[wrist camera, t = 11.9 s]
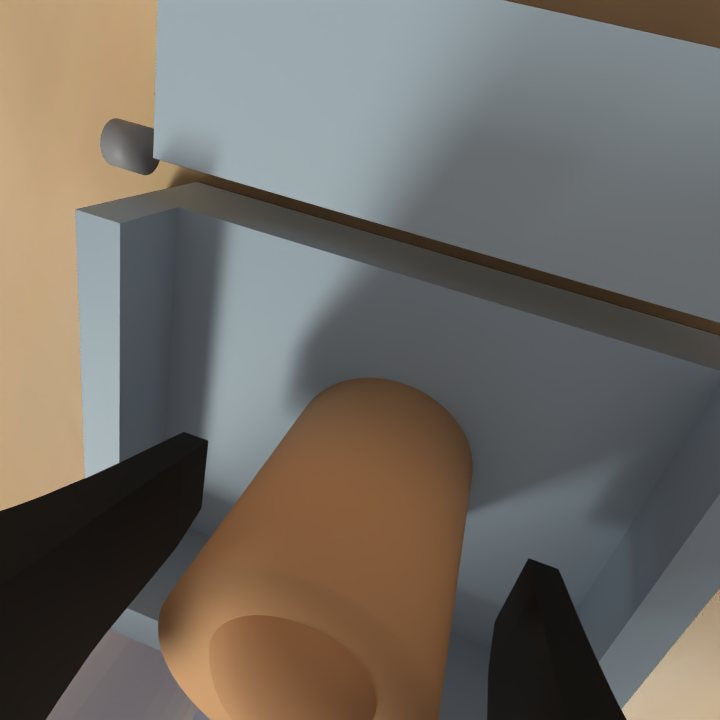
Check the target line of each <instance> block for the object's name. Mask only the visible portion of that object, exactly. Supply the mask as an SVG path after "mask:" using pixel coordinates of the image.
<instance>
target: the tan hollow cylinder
mask: <svg viewBox="0 0 720 720" xmlns="http://www.w3.org/2000/svg"><path fill="white" fill-rule="evenodd" d="M472 473H473V462H472V455H471V450H470V447H469V444H468V441H467V438H466V437H465V435H464V433H463V431H462V429H461V427H460V426H459V424H458V423H457V422H456V420H455V419H454V418H453V416H452V415H451V414H450V413H449V412H448V411H447V410H446V409H445V408H444V407H443V406H442V405H440V404H439V403H438V402H437V401H436V400H434V399H433V398H431V397H430V396H428V395H427V394H425V393H423V392H422V391H420V390H418V389H416V388H414V387H411V386H409V385H406V384H403V383H400V382H396V381H393V380H388V379H381V378H358V379H351V380H347V381H343V382H340V383H337V384H335V385H332V386H330V387H328V388H327V389H325V390H323V391H322V392H320V393H319V394H318V395H317V396H315V397H314V398H313V399H312V400H311V402H310V403H309V404H308V405H307V406H306V408H305V409H304V410H303V412H302V413H301V414H300V416H299V417H298V418H297V420H296V421H295V423H294V424H293V425H292V427H291V428H290V429H289V431H288V432H287V434H286V435H285V436H284V438H283V439H282V440H281V442H280V443H279V444H278V446H277V447H276V449H275V450H274V451H273V453H272V454H271V455H270V457H269V458H268V460H267V461H266V462H265V464H264V465H263V466H262V468H261V469H260V470H259V472H258V473H257V475H256V476H255V477H254V479H253V480H252V481H251V483H250V484H249V485H248V487H247V488H246V490H245V491H244V492H243V494H242V495H241V496H240V498H239V499H238V501H237V502H236V503H235V505H234V506H233V507H232V509H231V510H230V511H229V513H228V514H227V516H226V517H225V518H224V520H223V521H222V522H221V524H220V525H219V527H218V528H217V529H216V531H215V532H214V533H213V535H212V536H211V537H210V539H209V540H208V542H207V543H206V544H205V546H204V547H203V548H202V550H201V551H200V552H199V554H198V555H197V557H196V558H195V559H194V561H193V562H192V563H191V565H190V566H189V568H188V569H187V570H186V572H185V573H184V574H183V576H182V577H181V578H180V580H179V581H178V583H177V584H176V585H175V587H174V588H173V589H172V591H171V592H170V594H169V595H168V597H167V598H166V600H165V601H164V603H163V605H162V608H161V611H160V614H159V621H158V638H159V643H160V647H161V651H162V654H163V656H164V659H165V662H166V664H167V666H168V668H169V670H170V672H171V674H172V675H173V677H174V678H175V680H176V682H177V683H178V685H179V686H180V688H181V689H182V690H183V691H184V692H185V694H186V695H187V696H188V697H189V699H190V700H191V701H192V702H193V703H194V704H195V705H196V706H197V707H198V708H199V709H200V710H201V711H202V712H203V713H204V714H205V715H206V716H207V717H208V718H210V719H211V720H438V718H439V711H440V704H441V697H442V689H443V682H444V675H445V668H446V661H447V653H448V646H449V639H450V632H451V625H452V617H453V610H454V603H455V596H456V589H457V581H458V574H459V567H460V560H461V553H462V546H463V538H464V531H465V524H466V517H467V510H468V502H469V495H470V488H471V481H472Z"/></svg>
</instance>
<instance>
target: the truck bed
mask: <svg viewBox="0 0 720 720" xmlns="http://www.w3.org/2000/svg"><path fill="white" fill-rule="evenodd" d="M153 145H154V129H153V128H150V127H146V126H143V125H139V124H136V123H132V122H128V121H125V120H121V119H118V118H115V119H112V120H110V121H109V122H108V123H107V124H106V125H105V127H104V129H103V131H102V134H101V140H100V146H101V152H102V155H103V157H104V159H105V161H106V162H107V163H108V164H110V165H112V166H116V167H119V168H122V169H126V170H129V171H133V172H136V173H139V174H143V175H149V174H151V173H152V172H153V171H154V170H155V169H156V167H157V166H158V163H159V161H160V160H158V159H155V158H153ZM75 216H76V243H77V271H78V298H79V325H80V352H81V380H82V407H83V434H84V461H85V478H87V477H89V476H92V475H94V474H96V473H98V472H100V471H102V470H105V469H107V468H109V467H111V466H113V465H115V464H118V463H120V462H122V461H124V460H126V459H128V458H130V457H132V456H134V455H136V454H138V453H141V452H143V451H145V450H147V449H149V448H151V447H153V446H155V445H157V444H159V443H161V442H163V441H165V440H167V439H169V438H172V437H174V436H176V435H178V434H180V433H182V432H186V433H189V434H192V435H194V436H197V437H200V438H203V439H205V440H208V450H207V460H206V470H205V480H204V489H203V499H202V508H201V510H200V511H199V513H198V515H197V516H196V518H195V520H194V521H193V523H192V524H191V526H190V528H189V529H188V531H187V532H186V534H185V535H184V537H183V538H182V540H181V541H180V543H179V544H178V546H177V547H176V549H175V550H174V551H173V552H172V554H171V555H170V556H169V557H168V559H167V560H166V561H165V562H164V564H163V565H162V566H161V567H160V568H159V570H158V571H157V572H156V573H155V575H154V576H153V577H152V578H151V579H150V581H149V582H148V583H147V584H146V586H145V587H144V588H143V589H142V590H141V592H140V593H139V594H138V595H137V596H136V598H135V599H134V600H133V601H132V602H131V604H130V605H129V606H128V607H127V609H126V610H125V611H124V612H123V613H122V615H121V616H120V617H119V618H118V619H117V621H116V622H115V623H114V624H113V625H112V627H111V628H110V629H111V630H113V631H116V632H118V633H120V634H123V635H125V636H127V637H129V638H132V639H134V640H136V641H139V642H141V643H143V644H146V645H148V646H150V647H153V648H155V649H157V650H159V651H161V647H160V643H159V638H158V621H159V614H160V611H161V608H162V605H163V603H164V601H165V600H166V598H167V597H168V595H169V594H170V592H171V591H172V589H173V588H174V587H175V585H176V584H177V583H178V581H179V580H180V578H181V577H182V576H183V574H184V573H185V572H186V570H187V569H188V568H189V566H190V565H191V563H192V562H193V561H194V559H195V558H196V557H197V555H198V554H199V552H200V551H201V550H202V548H203V547H204V546H205V544H206V543H207V542H208V540H209V539H210V537H211V536H212V535H213V533H214V532H215V531H216V529H217V528H218V527H219V525H220V524H221V522H222V521H223V520H224V518H225V517H226V516H227V514H228V513H229V511H230V510H231V509H232V507H233V506H234V505H235V503H236V502H237V501H238V499H239V498H240V496H241V495H242V494H243V492H244V491H245V490H246V488H247V487H248V485H249V484H250V483H251V481H252V480H253V479H254V477H255V476H256V475H257V473H258V472H259V470H260V469H261V468H262V466H263V465H264V464H265V462H266V461H267V460H268V458H269V457H270V455H271V454H272V453H273V451H274V450H275V449H276V447H277V446H278V444H279V443H280V442H281V440H282V439H283V438H284V436H285V435H286V434H287V432H288V431H289V429H290V428H291V427H292V425H293V424H294V423H295V421H296V420H297V418H298V417H299V416H300V414H301V413H302V412H303V410H304V409H305V408H306V406H307V405H308V404H309V403H310V402H311V400H312V399H313V398H314V397H315V396H317V395H318V394H319V393H320V392H322V391H323V390H325V389H327V388H328V387H330V386H332V385H335V384H337V383H340V382H343V381H347V380H351V379H358V378H381V379H388V380H393V381H396V382H400V383H403V384H406V385H409V386H411V387H414V388H416V389H418V390H420V391H422V392H423V393H425V394H427V395H428V396H430V397H431V398H433V399H434V400H436V401H437V402H438V403H439V404H440V405H442V406H443V407H444V408H445V409H446V410H447V411H448V412H449V413H450V414H451V415H452V416H453V418H454V419H455V420H456V422H457V423H458V424H459V426H460V427H461V429H462V431H463V433H464V435H465V437H466V438H467V441H468V444H469V447H470V450H471V455H472V462H473V473H472V481H471V488H470V495H469V502H468V510H467V517H466V524H465V531H464V538H463V546H462V553H461V560H460V567H459V574H458V581H457V589H456V596H455V603H454V610H453V617H452V625H451V632H450V639H449V646H448V653H447V661H446V668H445V675H444V682H443V689H442V697H441V704H440V711H439V718H438V720H487V699H488V669H489V660H490V652H491V645H492V637H493V630H494V623H495V620H496V618H497V616H498V614H499V613H500V611H501V609H502V607H503V605H504V603H505V601H506V599H507V597H508V596H509V594H510V592H511V590H512V588H513V586H514V584H515V582H516V581H517V579H518V577H519V575H520V573H521V571H522V569H523V567H524V565H525V564H526V562H527V560H528V558H530V559H532V560H535V561H538V562H541V563H543V564H546V565H549V566H551V567H554V568H557V569H559V571H560V573H561V576H562V578H563V580H564V583H565V585H566V588H567V590H568V593H569V595H570V597H571V600H572V602H573V605H574V607H575V610H576V612H577V614H578V617H579V619H580V621H581V624H582V626H583V628H584V631H585V633H586V635H587V638H588V640H589V642H590V645H591V647H592V649H593V651H594V654H595V656H596V658H597V660H598V662H599V664H600V666H601V669H602V671H603V673H604V675H605V677H606V679H607V681H608V684H609V686H610V688H611V690H612V692H613V694H614V696H615V698H616V700H617V702H618V704H619V706H620V708H621V709H622V708H623V707H624V705H625V704H626V703H627V702H628V700H629V699H630V698H631V697H632V696H633V694H634V693H635V692H636V691H637V689H638V688H639V687H640V686H641V684H642V683H643V682H644V681H645V679H646V678H647V677H648V676H649V674H650V673H651V672H652V671H653V670H654V668H655V667H656V666H657V665H658V663H659V662H660V661H661V660H662V658H663V657H664V656H665V655H666V653H667V652H668V651H669V650H670V649H671V647H672V646H673V645H674V644H675V642H676V641H677V640H678V639H679V637H680V636H681V635H682V634H683V632H684V631H685V630H686V629H687V628H688V626H689V625H690V624H691V623H692V621H693V620H694V619H695V618H696V616H697V615H698V614H699V613H700V611H701V610H702V609H703V608H704V606H705V605H706V604H707V603H708V602H709V600H710V599H711V598H712V597H713V595H714V594H715V593H716V592H717V590H718V589H719V588H720V336H719V335H716V334H712V333H709V332H706V331H702V330H699V329H695V328H692V327H689V326H685V325H682V324H678V323H675V322H672V321H668V320H665V319H661V318H658V317H655V316H651V315H648V314H644V313H641V312H638V311H634V310H631V309H627V308H624V307H621V306H617V305H614V304H610V303H607V302H604V301H600V300H597V299H593V298H590V297H587V296H583V295H580V294H576V293H573V292H570V291H566V290H563V289H559V288H556V287H553V286H549V285H546V284H542V283H539V282H536V281H532V280H529V279H525V278H522V277H519V276H515V275H512V274H508V273H505V272H502V271H498V270H495V269H491V268H488V267H485V266H481V265H478V264H475V263H471V262H468V261H464V260H461V259H458V258H454V257H451V256H447V255H444V254H441V253H437V252H434V251H430V250H427V249H424V248H420V247H417V246H413V245H410V244H407V243H403V242H400V241H396V240H393V239H390V238H386V237H383V236H379V235H376V234H373V233H369V232H366V231H362V230H359V229H356V228H352V227H349V226H345V225H342V224H339V223H335V222H332V221H328V220H325V219H322V218H318V217H315V216H311V215H308V214H305V213H301V212H298V211H294V210H291V209H288V208H284V207H281V206H277V205H274V204H271V203H267V202H264V201H260V200H257V199H254V198H250V197H247V196H243V195H240V194H237V193H233V192H230V191H226V190H223V189H220V188H216V187H213V186H209V185H206V184H203V183H199V182H194V183H189V184H185V185H181V186H176V187H172V188H167V189H163V190H159V191H154V192H150V193H145V194H141V195H137V196H132V197H128V198H123V199H119V200H115V201H110V202H106V203H101V204H97V205H93V206H88V207H84V208H79V209H75Z"/></svg>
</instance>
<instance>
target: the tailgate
mask: <svg viewBox="0 0 720 720" xmlns="http://www.w3.org/2000/svg"><path fill="white" fill-rule="evenodd" d="M153 158H155V159H158V160H162V161H165V162H169V163H172V164H176V165H179V166H182V167H186V168H189V169H193V170H196V171H200V172H203V173H206V174H210V175H213V176H217V177H220V178H224V179H227V180H230V181H234V182H237V183H241V184H244V185H248V186H251V187H255V188H258V189H261V190H265V191H268V192H272V193H275V194H279V195H282V196H285V197H289V198H292V199H296V200H299V201H303V202H306V203H310V204H313V205H316V206H320V207H323V208H327V209H330V210H334V211H337V212H340V213H344V214H347V215H351V216H354V217H358V218H361V219H365V220H368V221H371V222H375V223H378V224H382V225H385V226H389V227H392V228H395V229H399V230H402V231H406V232H409V233H413V234H416V235H419V236H423V237H426V238H430V239H433V240H437V241H440V242H444V243H447V244H450V245H454V246H457V247H461V248H464V249H468V250H471V251H474V252H478V253H481V254H485V255H488V256H492V257H495V258H499V259H502V260H505V261H509V262H512V263H516V264H519V265H523V266H526V267H529V268H533V269H536V270H540V271H543V272H547V273H550V274H554V275H557V276H560V277H564V278H567V279H571V280H574V281H578V282H581V283H584V284H588V285H591V286H595V287H598V288H602V289H605V290H608V291H612V292H615V293H619V294H622V295H626V296H629V297H633V298H636V299H639V300H643V301H646V302H650V303H653V304H657V305H660V306H663V307H667V308H670V309H674V310H677V311H681V312H684V313H688V314H691V315H694V316H698V317H701V318H705V319H708V320H712V321H715V322H718V323H720V48H716V47H711V46H707V45H702V44H698V43H693V42H689V41H684V40H680V39H675V38H671V37H666V36H662V35H657V34H653V33H648V32H644V31H639V30H635V29H630V28H626V27H621V26H617V25H612V24H608V23H603V22H599V21H594V20H590V19H585V18H581V17H576V16H572V15H568V14H563V13H559V12H554V11H550V10H545V9H541V8H536V7H532V6H527V5H523V4H518V3H514V2H509V1H505V0H158V11H157V45H156V78H155V112H154V145H153Z"/></svg>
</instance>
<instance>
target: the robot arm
mask: <svg viewBox="0 0 720 720" xmlns="http://www.w3.org/2000/svg"><path fill="white" fill-rule="evenodd" d="M207 450H208V440H205V439H203V438H200V437H197V436H194V435H192V434H189V433H186V432H182V433H180V434H178V435H176V436H174V437H172V438H169V439H167V440H165V441H163V442H161V443H159V444H157V445H155V446H153V447H151V448H149V449H147V450H145V451H143V452H141V453H138V454H136V455H134V456H132V457H130V458H128V459H126V460H124V461H122V462H120V463H118V464H115V465H113V466H111V467H109V468H107V469H105V470H102V471H100V472H98V473H96V474H94V475H92V476H89V477H87V478H85V479H82V480H80V481H77V482H75V483H73V484H70V485H68V486H66V487H63V488H61V489H58V490H56V491H54V492H51V493H49V494H46V495H44V496H41V497H39V498H36V499H33V500H31V501H28V502H25V503H23V504H20V505H17V506H14V507H11V508H8V509H5V510H2V511H0V720H211V719H210V718H208V717H207V716H206V715H205V714H204V713H203V712H202V711H201V710H200V709H199V708H198V707H197V706H196V705H195V704H194V703H193V702H192V701H191V700H190V699H189V697H188V696H187V695H186V694H185V692H184V691H183V690H182V689H181V688H180V686H179V685H178V683H177V682H176V680H175V678H174V677H173V675H172V674H171V672H170V670H169V668H168V666H167V664H166V662H165V659H164V656H163V654H162V651H159V650H157V649H155V648H153V647H150V646H148V645H146V644H143V643H141V642H139V641H136V640H134V639H132V638H129V637H127V636H125V635H123V634H120V633H118V632H116V631H113V630H111V629H110V628H111V627H112V625H113V624H114V623H115V622H116V621H117V619H118V618H119V617H120V616H121V615H122V613H123V612H124V611H125V610H126V609H127V607H128V606H129V605H130V604H131V602H132V601H133V600H134V599H135V598H136V596H137V595H138V594H139V593H140V592H141V590H142V589H143V588H144V587H145V586H146V584H147V583H148V582H149V581H150V579H151V578H152V577H153V576H154V575H155V573H156V572H157V571H158V570H159V568H160V567H161V566H162V565H163V564H164V562H165V561H166V560H167V559H168V557H169V556H170V555H171V554H172V552H173V551H174V550H175V549H176V547H177V546H178V544H179V543H180V541H181V540H182V538H183V537H184V535H185V534H186V532H187V531H188V529H189V528H190V526H191V524H192V523H193V521H194V520H195V518H196V516H197V515H198V513H199V511H200V510H201V508H202V499H203V489H204V480H205V470H206V460H207ZM487 720H626V718H625V716H624V714H623V712H622V710H621V708H620V706H619V704H618V702H617V700H616V698H615V696H614V694H613V692H612V690H611V688H610V686H609V684H608V681H607V679H606V677H605V675H604V673H603V671H602V669H601V666H600V664H599V662H598V660H597V658H596V656H595V654H594V651H593V649H592V647H591V645H590V642H589V640H588V638H587V635H586V633H585V631H584V628H583V626H582V624H581V621H580V619H579V617H578V614H577V612H576V610H575V607H574V605H573V602H572V600H571V597H570V595H569V593H568V590H567V588H566V585H565V583H564V580H563V578H562V576H561V573H560V571H559V569H557V568H554V567H551V566H549V565H546V564H543V563H541V562H538V561H535V560H532V559H530V558H528V560H527V562H526V564H525V565H524V567H523V569H522V571H521V573H520V575H519V577H518V579H517V581H516V582H515V584H514V586H513V588H512V590H511V592H510V594H509V596H508V597H507V599H506V601H505V603H504V605H503V607H502V609H501V611H500V613H499V614H498V616H497V618H496V620H495V623H494V630H493V637H492V645H491V652H490V660H489V669H488V699H487Z"/></svg>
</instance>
